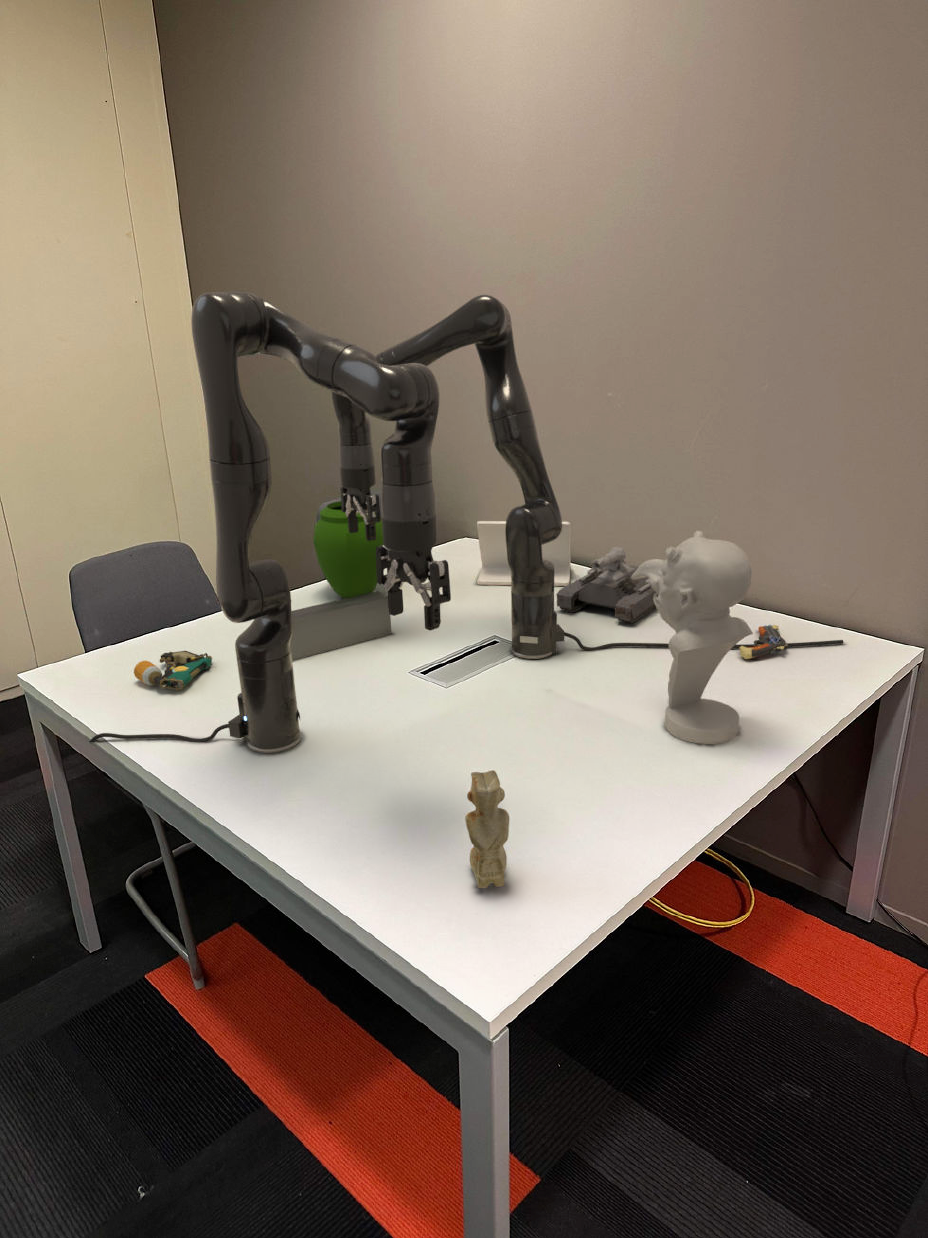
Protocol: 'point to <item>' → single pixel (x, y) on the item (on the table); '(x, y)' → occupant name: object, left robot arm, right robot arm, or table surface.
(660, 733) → the table surface
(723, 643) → the bust sculpture
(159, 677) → the spray gun
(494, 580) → the tablet stand
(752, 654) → the toy gun
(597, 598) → the toy
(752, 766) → the table surface
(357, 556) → the vase
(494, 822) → the sculpture
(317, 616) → the bar
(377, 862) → the table surface
